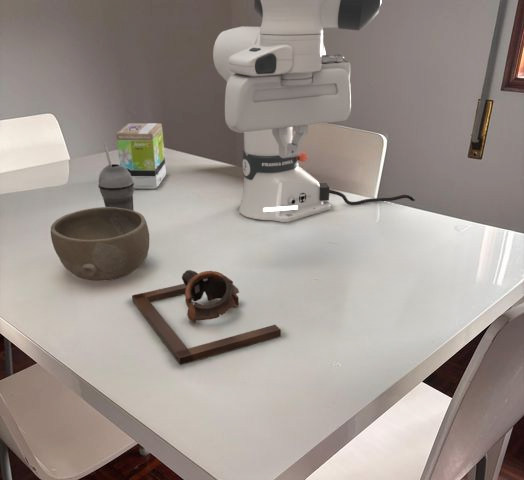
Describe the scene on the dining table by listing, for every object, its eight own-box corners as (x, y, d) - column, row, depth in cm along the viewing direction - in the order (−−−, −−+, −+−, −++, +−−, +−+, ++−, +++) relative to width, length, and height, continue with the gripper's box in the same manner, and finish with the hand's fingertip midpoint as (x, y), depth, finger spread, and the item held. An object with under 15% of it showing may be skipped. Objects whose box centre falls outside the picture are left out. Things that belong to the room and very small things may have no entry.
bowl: (108, 299, 98) (98, 245, 92) (39, 277, 106) (27, 226, 100) (172, 265, 110) (167, 215, 105) (106, 247, 118) (98, 200, 113)
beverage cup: (133, 244, 119) (119, 146, 109) (101, 242, 121) (84, 145, 110) (145, 232, 125) (134, 138, 115) (115, 230, 127) (101, 137, 116)
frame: (219, 281, 103) (219, 275, 103) (280, 336, 87) (280, 329, 86) (132, 301, 97) (131, 295, 96) (180, 365, 80) (179, 358, 79)
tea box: (158, 189, 154) (152, 132, 146) (122, 189, 154) (113, 132, 146) (167, 174, 166) (162, 121, 158) (133, 175, 166) (126, 121, 159)
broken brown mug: (255, 309, 95) (248, 282, 88) (217, 349, 92) (207, 324, 85) (204, 275, 99) (193, 246, 92) (167, 312, 97) (153, 285, 90)
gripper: (338, 51, 87) (333, 145, 94) (217, 58, 79) (222, 160, 86) (363, 54, 82) (355, 152, 90) (237, 62, 74) (240, 169, 81)
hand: (289, 156), depth 88 cm, fingers closed
